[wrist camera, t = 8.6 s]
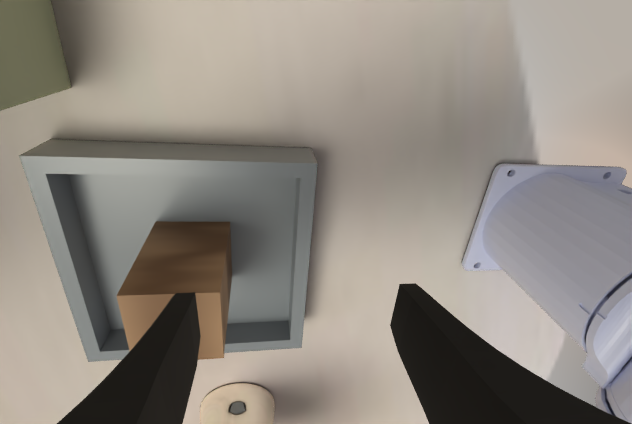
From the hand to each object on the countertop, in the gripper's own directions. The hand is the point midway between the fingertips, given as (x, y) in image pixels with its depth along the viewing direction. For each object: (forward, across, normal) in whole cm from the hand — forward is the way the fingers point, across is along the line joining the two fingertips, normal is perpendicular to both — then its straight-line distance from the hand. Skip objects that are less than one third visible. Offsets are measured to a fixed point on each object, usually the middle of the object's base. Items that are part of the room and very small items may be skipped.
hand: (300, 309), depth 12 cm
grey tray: (+9, +5, +3) cm, 11 cm away
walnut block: (+8, +5, +3) cm, 10 cm away
